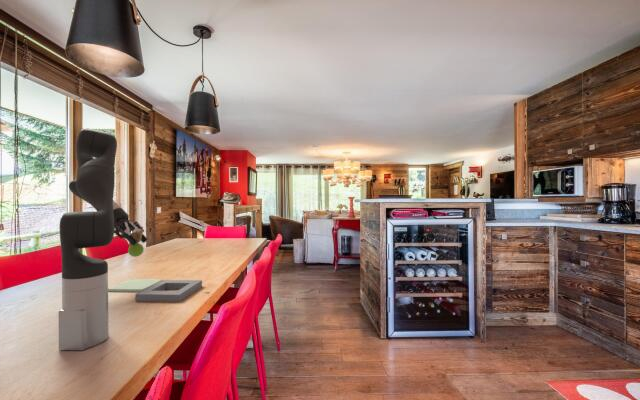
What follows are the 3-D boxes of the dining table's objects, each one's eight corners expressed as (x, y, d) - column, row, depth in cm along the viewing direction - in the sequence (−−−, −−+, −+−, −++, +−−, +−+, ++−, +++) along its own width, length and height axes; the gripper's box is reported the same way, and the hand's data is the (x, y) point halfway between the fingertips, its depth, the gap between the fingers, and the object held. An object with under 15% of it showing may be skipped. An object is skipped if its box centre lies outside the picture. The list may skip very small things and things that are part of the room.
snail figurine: (148, 254, 125) (148, 226, 125) (137, 258, 119) (137, 228, 119) (136, 254, 126) (136, 226, 126) (124, 257, 119) (124, 228, 119)
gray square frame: (179, 301, 104) (179, 294, 104) (135, 301, 105) (135, 294, 105) (202, 286, 122) (202, 280, 122) (164, 285, 123) (164, 279, 123)
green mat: (142, 291, 115) (142, 289, 115) (107, 291, 116) (107, 289, 116) (163, 281, 129) (163, 279, 129) (132, 281, 130) (131, 279, 130)
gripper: (105, 207, 115) (135, 238, 115) (130, 206, 129) (157, 233, 129) (92, 221, 115) (122, 252, 115) (119, 218, 130) (145, 245, 129)
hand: (140, 242), depth 122 cm, fingers closed on snail figurine, 6 cm apart
